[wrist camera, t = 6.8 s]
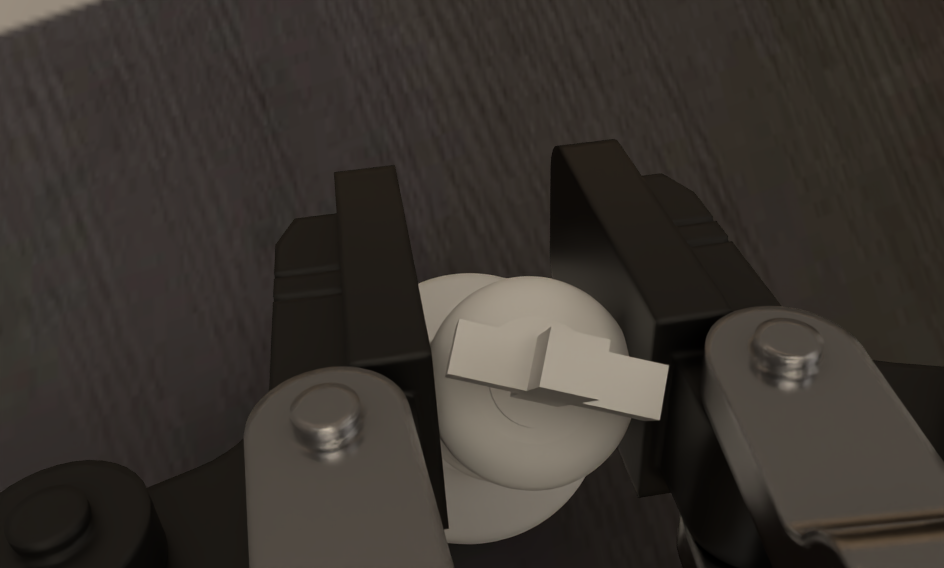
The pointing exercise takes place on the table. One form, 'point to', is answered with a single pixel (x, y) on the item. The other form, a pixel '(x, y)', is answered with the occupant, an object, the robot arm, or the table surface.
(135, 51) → the table surface
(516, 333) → the chess piece
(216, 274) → the table surface
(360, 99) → the table surface
